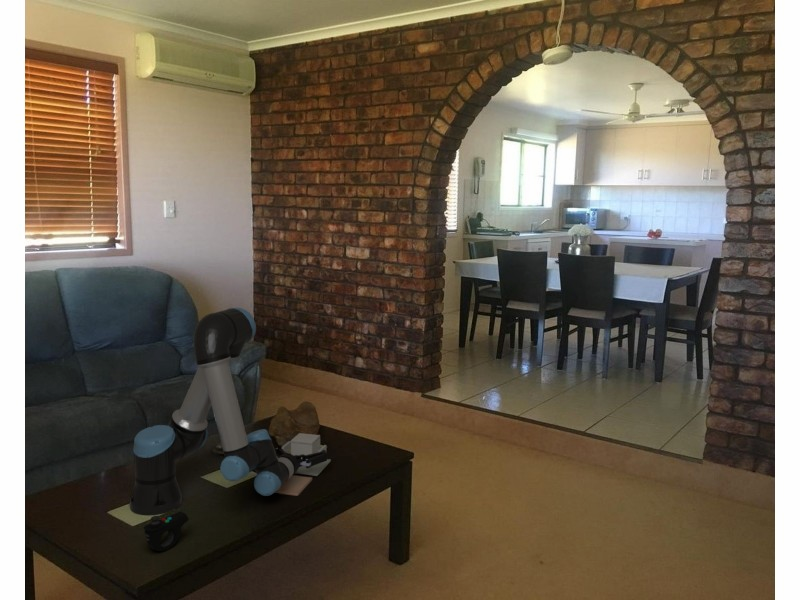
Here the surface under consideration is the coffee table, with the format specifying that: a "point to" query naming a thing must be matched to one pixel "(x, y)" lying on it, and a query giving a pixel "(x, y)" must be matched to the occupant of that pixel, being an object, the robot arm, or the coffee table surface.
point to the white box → (305, 446)
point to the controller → (164, 530)
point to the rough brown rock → (294, 422)
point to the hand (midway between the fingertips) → (307, 446)
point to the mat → (316, 470)
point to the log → (218, 450)
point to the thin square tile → (294, 485)
